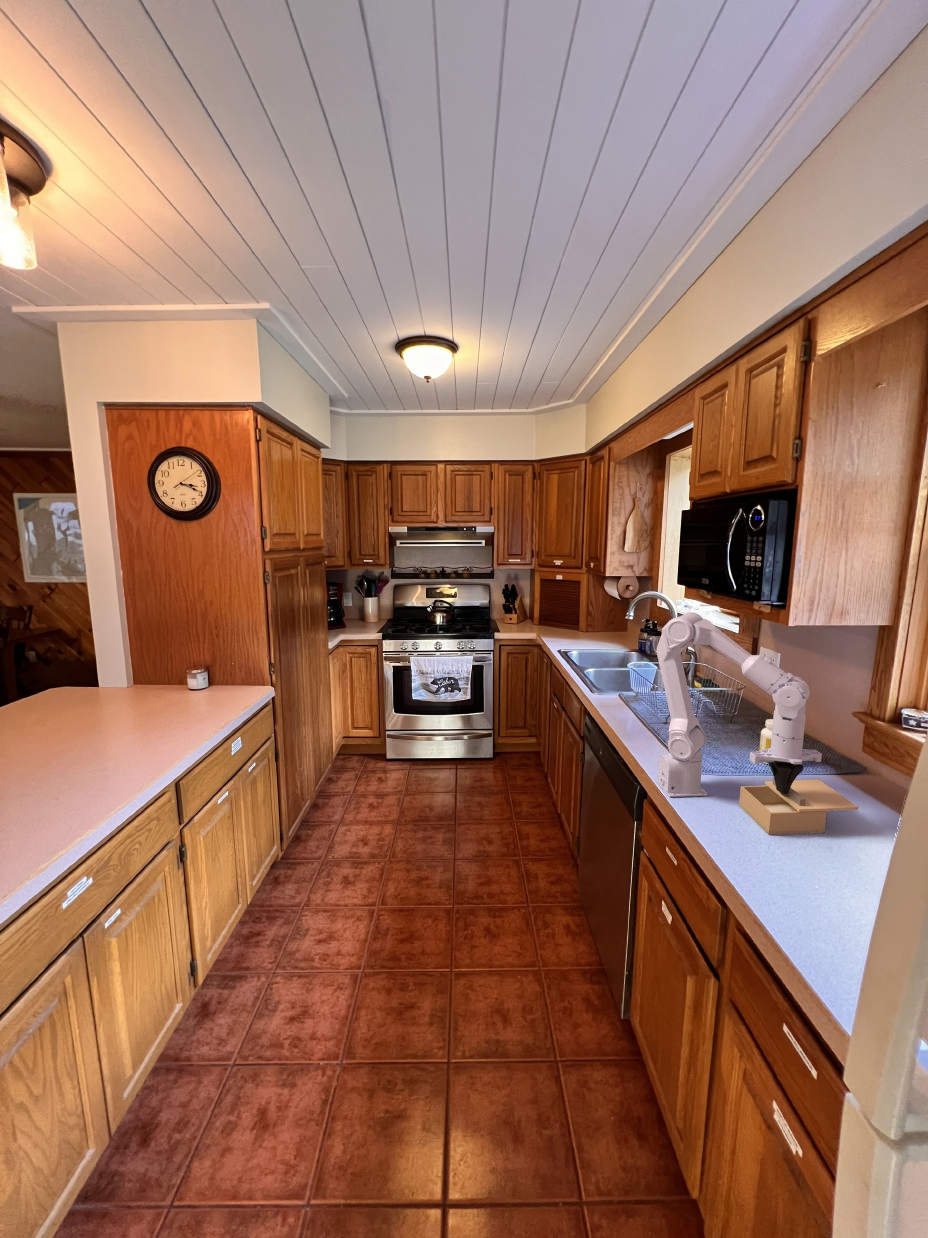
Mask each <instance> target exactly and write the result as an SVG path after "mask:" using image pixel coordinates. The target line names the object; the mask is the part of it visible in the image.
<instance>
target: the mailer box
mask: <svg viewBox="0 0 928 1238" xmlns="http://www.w3.org/2000/svg"><path fill="white" fill-rule="evenodd" d="M738 801H739V803H738V807H740V808H741V810H742V811H743V812H745V814H747V815H748V817H750V818H751V819H752V820H753V821H754V822H755V823H756V824H757V825H758V826H759V827H760V828H761V829H762V830H763V832H765V833H766V834H767V835H768V836H771V835H772V836H774V835H799V834H800V835H803V834H822V833H823V834H824V833H825V830H826V823H827V814H828V811H812V812H799V811H797V810H796V809H795V808H794V807H793V806H791V805H790V804H789V803H788V802H786V801H785V800H784V799H783V798H782V797H780V796H779V795H778V794H777V793H776V792H774V791H773V790H772V789H771V788H769V787H768V786H767V785H766V784H765V785H746V786H744V785H743V786H742V785H741V786H740V791H739V800H738Z"/></svg>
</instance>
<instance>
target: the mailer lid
mask: <svg viewBox="0 0 928 1238" xmlns="http://www.w3.org/2000/svg"><path fill="white" fill-rule="evenodd" d="M764 785H765V786H766V785H767V786H768V787H769V788H771V789H772V790H773V791H774V792H776V793H777V794H778V795H779V796H780V797H782V798H783V799H784V800H785V801H786V802H788V803H789V804H790V805H791V806H793V807H794V808H795V809H796V810H797V811H799V812H812V811H827V812H832V811H833V812H834V811H835V812H836V811H838V812H839V811H859V805H857V804H855V803H854V802H852V801H851V800H849V799H848V798H847V797H845V796H843V795H842V794H841V793H839V792H838V791H836V790H834V789H833V788H832V787H831V786H828V784H826V783H824V782H823V781H821V780H820V779H797V780H796V779H795V780H794V781H793V783H792V785H791V787H790V789H789V792H788V794H781V793H780V792H779V791H777V790H776V784H775V779H774V777H773V778H772V780H765V781H764Z"/></svg>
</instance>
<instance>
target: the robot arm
mask: <svg viewBox="0 0 928 1238" xmlns="http://www.w3.org/2000/svg"><path fill="white" fill-rule="evenodd" d="M691 642H692V645H696V646H710V647H712V648H713V649H714V650H716V651H717V652H719V653H720V654H722V655H723V656H725V657H726V658H727V659H729V660H730V661H732V662H733V663H735V664H737V665H738V666H740V668H741V672H742V673H741V674H742V675H743V676H744V677H745V678H747V679H748V680H750V681H751V682H752V683H753V684H754V685H756V686H758V688H760V689H761V690H763V691H764V692H766V694H769V695H771V696H772V700H773V703H774V704H775V706H774V707H775V709H774V711H773V716H772V717H773V718H772V719H773V728H772V738H771V748H768V749H764V750H760V749H759V750H758V751H750V753H749V762H752V763H753V764H754V765H759V764H760V763H763V762H768V764H769V765H768V766H769V768H770V770H771V773H772V775H773V778H774V779H775V784H776V790H777V791H779V792H780V793H781V794H788V792H789V789H790V787H791V785H792V783H793V781H794V780H796V778H797V777H798V776H799V775H800V774H801V773H802V772H803V771H804V765H803V762H811V761H814V762H815V763H821V762H822V755H823V754H822V753H821V752H819V751H818V750H816V749H806V748H803V746H804V745H803V744H804V736H805V727H806V719H807V717H806V712H807V707H806V705H807V704H806V703H807V701H808V699H809V696H810V693H811V692H810V687H809V685H808V683H807V682H806V681H805V680H804V679H803V678H802V677H799V676H794V674H792V673H791V672H788V673H787V672H786V671H784V669H782V668H781V667H779V666H777V665H776V664H775V663H773V661H774V660H773V658H771V657H769V656H766V657H765V656H763V655H762V654H755V655H754V654H753V655H752V654H751V653H749V652H748V651H747V650H746V649H744V648H743V647H742V646H740V644H738V643H737V642H736V641H734V640H733V639H732V638H730V637H729V636H728V635H727V634H725V633H724V632H723V631H721V629H719V628H718V627H717V626H716V625H715V624H713V622H711V621H710V620H708V619H707V618H704V617H702V615H701V614H699V613H697V612H692V611H688V612H685V613H683V614H681V615H680V616H678V617H674V618H672V619H670V620H669V621H668V622H667V623H666V624H665V625H664V626H663V627H662V628H661V636H660V638H659V641H658V644H657V646H656V655H657V659H658V664H659V670H660V674H661V678H662V684H663V688H664V692H665V698H666V701H667V706H668V710H669V711H668V712H669V716H670V722H669V727H668V735H669V737H668V741H667V749H668V751H669V753H667V754H662V755H661V756H660V757H659V760H658V774H657V778H656V782H657V784H658V785H659V786H660V787H661V788H662V790H663V791H664V792H665V793H666V795H668V797H671V798H676V797H678V798H681V797H702V796H703V797H705V796H708V792H707V791H706V790H704V788H703V787H702V786H701V785H702V784H701V783H702V768H703V767H702V766H703V754H702V753H703V752H702V749H701V748H702V747H704V746H705V744H706V743H707V736H706V732H705V731H704V729H703V728H702V727H701V725H700V721H699V719H698V718H697V717H696V716H695V715H694V711H693V710H694V709H693V706H692V701H691V697H690V692H689V688H688V683H687V678H686V673H685V669H684V664H683V658H682V655H681V654H682V652H683V651H684V649H685V648H687V646H688V645H689V643H691Z"/></svg>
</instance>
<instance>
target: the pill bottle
mask: <svg viewBox="0 0 928 1238" xmlns="http://www.w3.org/2000/svg"><path fill="white" fill-rule="evenodd" d="M764 724H765V725H764V726H765V727H764V728H762V730H761V731H760V741H759V751H760V750H764V749H768V748H771V738H772V728H773V718H769V719H768V718H767V719H766V720H765V723H764ZM762 763H763V764H765V765H767V764H768V762H762ZM767 766H769V764H768V765H767Z"/></svg>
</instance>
